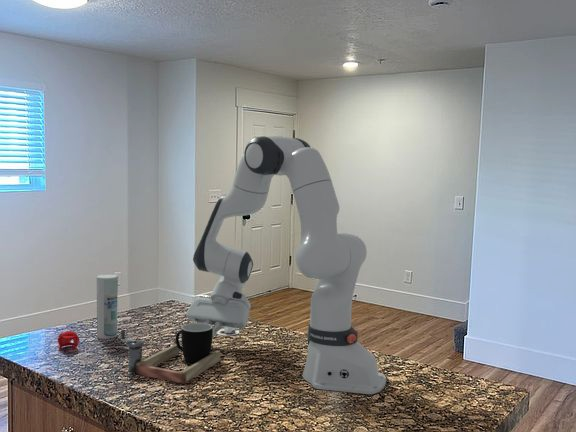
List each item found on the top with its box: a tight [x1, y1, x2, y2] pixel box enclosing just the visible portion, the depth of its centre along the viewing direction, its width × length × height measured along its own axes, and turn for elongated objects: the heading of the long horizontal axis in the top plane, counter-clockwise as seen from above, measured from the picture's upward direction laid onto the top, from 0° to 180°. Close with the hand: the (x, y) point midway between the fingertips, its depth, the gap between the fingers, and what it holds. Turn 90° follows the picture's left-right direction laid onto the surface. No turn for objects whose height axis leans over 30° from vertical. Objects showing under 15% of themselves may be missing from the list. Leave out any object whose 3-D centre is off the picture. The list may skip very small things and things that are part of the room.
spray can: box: [96, 274, 119, 340], centre depth 178 cm, size 6×6×20 cm
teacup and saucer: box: [216, 326, 240, 337], centre depth 187 cm, size 9×8×4 cm
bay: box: [135, 343, 221, 385], centre depth 152 cm, size 15×19×3 cm
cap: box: [57, 330, 80, 350], centre depth 165 cm, size 7×6×6 cm
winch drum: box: [120, 329, 145, 373], centre depth 149 cm, size 7×5×11 cm, turn 68°
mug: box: [175, 322, 214, 366], centre depth 158 cm, size 12×9×10 cm
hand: (208, 335), depth 166 cm, fingers closed
